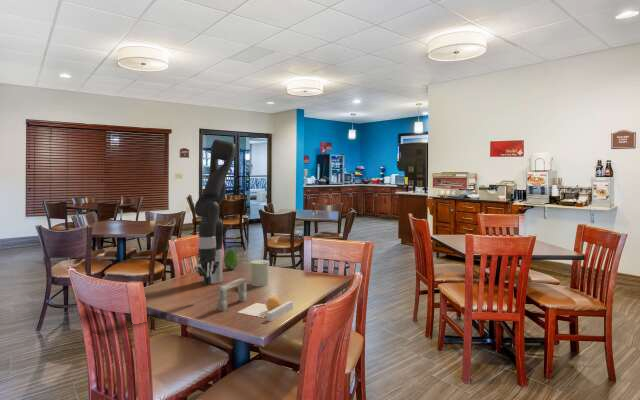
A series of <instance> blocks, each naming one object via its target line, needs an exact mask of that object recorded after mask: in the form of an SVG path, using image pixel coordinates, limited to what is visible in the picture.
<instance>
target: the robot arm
mask: <svg viewBox="0 0 640 400" xmlns="http://www.w3.org/2000/svg"><path fill="white" fill-rule="evenodd" d="M236 145H237V144H236V143H234V142H230V141H227V140H221V139H216V138H215V139H214V140H213V141H212V144H211V149H210V160H209V162H210V163H209V174H208V179H207V180H206V183H205V186H204V187H205V188H204V190H203V192H202V193H201V195H200V196H199V198H198V199H197V200H196V202H195V204H194V210H193V211H194V214H195V215H196V216H197V217H200V218H201V219H200V223H199V225H198V240H197V241H198V242H197V243H198V244H197V245H198V248H197V249H198V251H197V253H198V254H197V255H198V258H199V260H198V265H197V266H194V270H195V271H196V272H197V274H198V275H199V276H200V277H202V282H203V284H204V285H205V286H210V285H215V284H219V283H220V284H221V283H222V282H223V242H224V241H223V240H224V222H223V220H222V219H221V218H220V217H219V214H220V210H221V209H220V205H221V204H222V203H223V201H224V200H225V197H226V193H227V192H226V191H227V183H226V177H227V175H228V174H229V171H230V169H231V166H232V164H233V162H234V159H235V156H236V153H237V146H236ZM219 160H220V161H224V162H223V164H222V165H221V166H219Z"/></svg>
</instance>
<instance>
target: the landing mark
mask: <svg viewBox="0 0 640 400" xmlns="http://www.w3.org/2000/svg"><path fill="white" fill-rule="evenodd" d="M267 312H269V310H268V309H267V307H266V303H264V304H263V303H258V302H255V303H253V304H250V305H249V306H246V307H245V308H243V309H240V310H239V311H237V312H236V313H237V314H243V315H246V316H250V317H251V316H252V317H256V316H257V318H261V317H262V319H265V318H267ZM264 317H265V318H264Z"/></svg>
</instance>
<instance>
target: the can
mask: <svg viewBox="0 0 640 400" xmlns="http://www.w3.org/2000/svg"><path fill="white" fill-rule="evenodd" d="M250 266H251V267H250V268H251V269H250V270H251V274H250V275H251V279H250V280H251V281H250V284H251V286H253V287H266V286H269V285H270V262H269V260H267V259H256V260H255V259H254V260H252V261H251V262H250Z"/></svg>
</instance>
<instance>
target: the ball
mask: <svg viewBox="0 0 640 400" xmlns="http://www.w3.org/2000/svg"><path fill="white" fill-rule="evenodd" d="M281 303H282V302H281V300H280V299H279V297H276V296H271V297H268V299H267V300H266V301H265V305H266V307H267V309H268V310H269V311H271V310H273V309H275V308H276V307H278V306H280V305H282V304H281Z"/></svg>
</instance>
